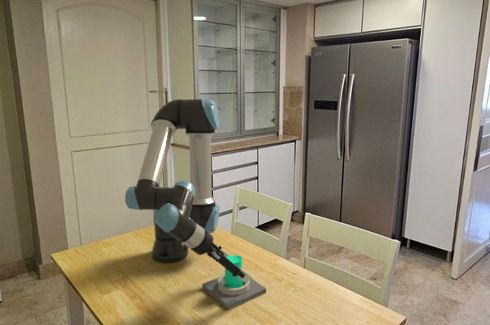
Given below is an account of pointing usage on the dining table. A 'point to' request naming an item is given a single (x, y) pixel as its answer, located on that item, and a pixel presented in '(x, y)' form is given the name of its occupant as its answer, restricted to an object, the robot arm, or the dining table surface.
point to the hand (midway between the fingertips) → (239, 270)
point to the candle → (229, 279)
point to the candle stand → (233, 292)
